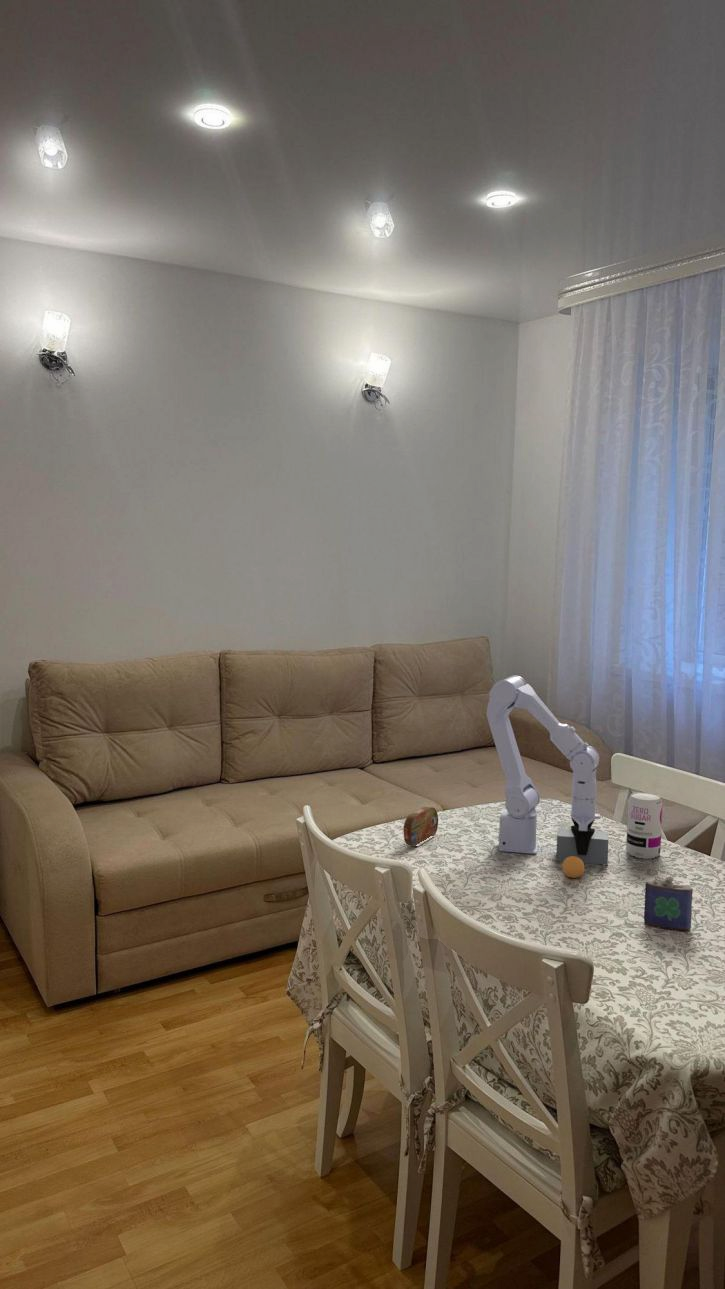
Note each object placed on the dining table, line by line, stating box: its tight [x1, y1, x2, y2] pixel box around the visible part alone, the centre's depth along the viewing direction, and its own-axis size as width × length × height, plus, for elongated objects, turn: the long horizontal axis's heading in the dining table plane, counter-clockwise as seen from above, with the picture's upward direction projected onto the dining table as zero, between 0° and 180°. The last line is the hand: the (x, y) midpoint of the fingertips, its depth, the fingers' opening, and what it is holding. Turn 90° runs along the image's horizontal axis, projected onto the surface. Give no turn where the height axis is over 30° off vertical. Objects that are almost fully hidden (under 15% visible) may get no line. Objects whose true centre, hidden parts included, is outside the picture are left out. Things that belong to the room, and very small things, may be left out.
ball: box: [562, 856, 585, 879], centre depth 213 cm, size 5×5×5 cm
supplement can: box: [625, 791, 663, 860], centre depth 228 cm, size 8×8×15 cm
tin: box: [403, 806, 439, 847], centre depth 237 cm, size 15×3×8 cm, turn 148°
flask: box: [643, 876, 694, 933], centre depth 186 cm, size 9×3×11 cm, turn 68°
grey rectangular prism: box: [555, 827, 609, 866], centre depth 225 cm, size 12×6×6 cm, turn 77°
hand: (582, 850), depth 225 cm, fingers closed on grey rectangular prism, 6 cm apart
